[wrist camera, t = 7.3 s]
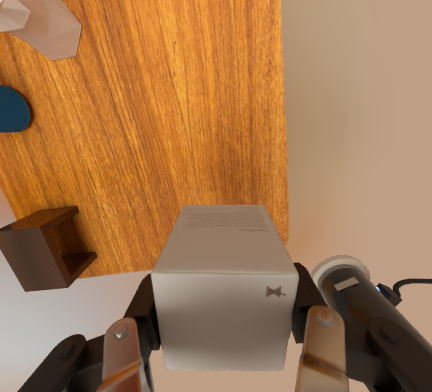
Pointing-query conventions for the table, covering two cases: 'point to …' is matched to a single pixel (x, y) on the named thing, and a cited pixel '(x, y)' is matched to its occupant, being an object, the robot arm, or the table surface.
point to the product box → (224, 290)
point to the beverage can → (13, 110)
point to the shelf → (41, 251)
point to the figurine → (42, 26)
